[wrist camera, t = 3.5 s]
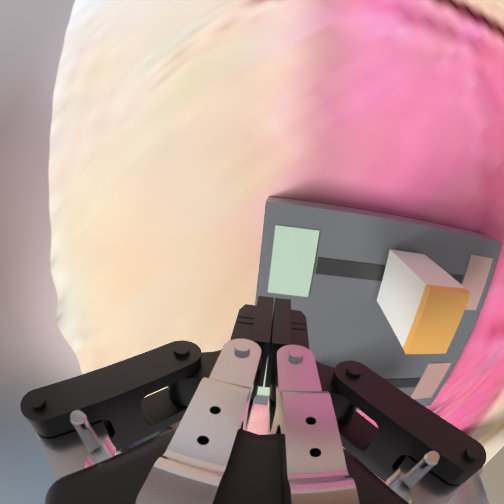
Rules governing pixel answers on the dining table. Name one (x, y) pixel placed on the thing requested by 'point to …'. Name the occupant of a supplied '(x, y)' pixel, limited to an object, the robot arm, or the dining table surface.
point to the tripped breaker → (421, 302)
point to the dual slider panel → (365, 284)
